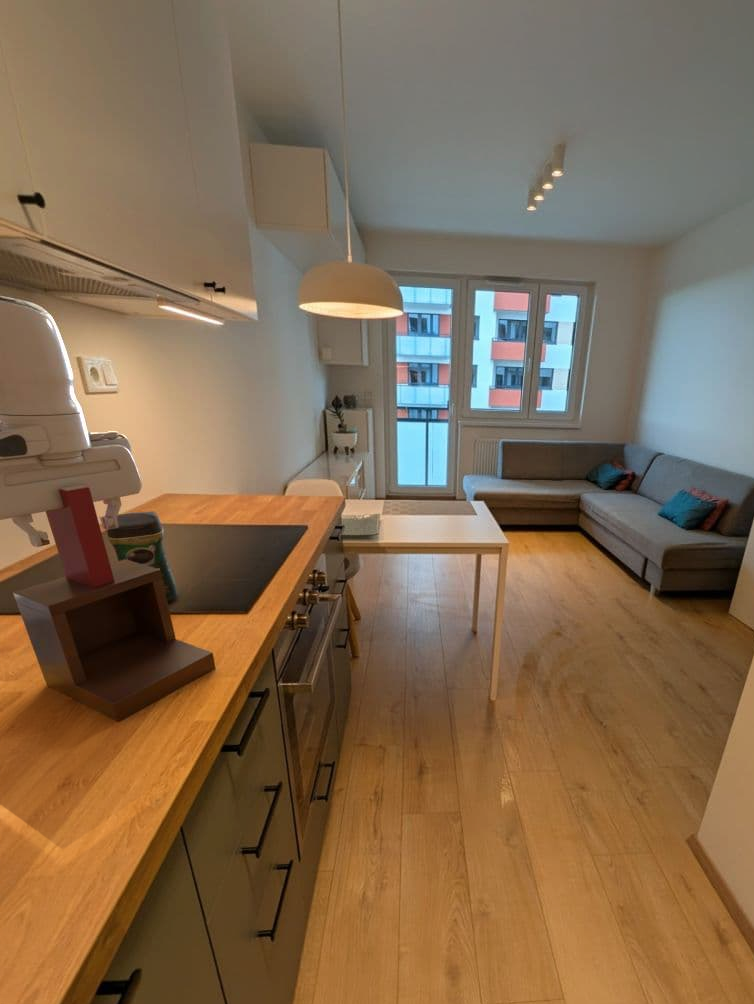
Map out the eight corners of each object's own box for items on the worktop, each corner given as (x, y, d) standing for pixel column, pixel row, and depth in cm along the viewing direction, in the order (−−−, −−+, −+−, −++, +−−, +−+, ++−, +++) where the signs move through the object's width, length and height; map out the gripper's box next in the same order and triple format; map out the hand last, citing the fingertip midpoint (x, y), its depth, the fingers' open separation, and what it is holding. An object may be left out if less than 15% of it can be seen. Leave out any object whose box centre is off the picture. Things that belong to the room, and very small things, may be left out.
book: (66, 578, 76) (36, 483, 70) (87, 572, 78) (60, 480, 72) (94, 588, 73) (65, 490, 67) (114, 581, 75) (89, 486, 70)
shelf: (46, 685, 78) (12, 592, 71) (146, 641, 90) (125, 559, 84) (118, 722, 70) (88, 621, 64) (215, 668, 83) (198, 580, 77)
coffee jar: (177, 589, 111) (159, 506, 104) (179, 603, 105) (160, 515, 97) (126, 597, 107) (103, 511, 99) (125, 612, 101) (101, 521, 93)
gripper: (113, 428, 77) (134, 517, 83) (-60, 441, 60) (-19, 552, 66) (139, 431, 74) (159, 522, 80) (-34, 446, 58) (7, 560, 63)
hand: (77, 536), depth 73 cm, fingers open, 8 cm apart
